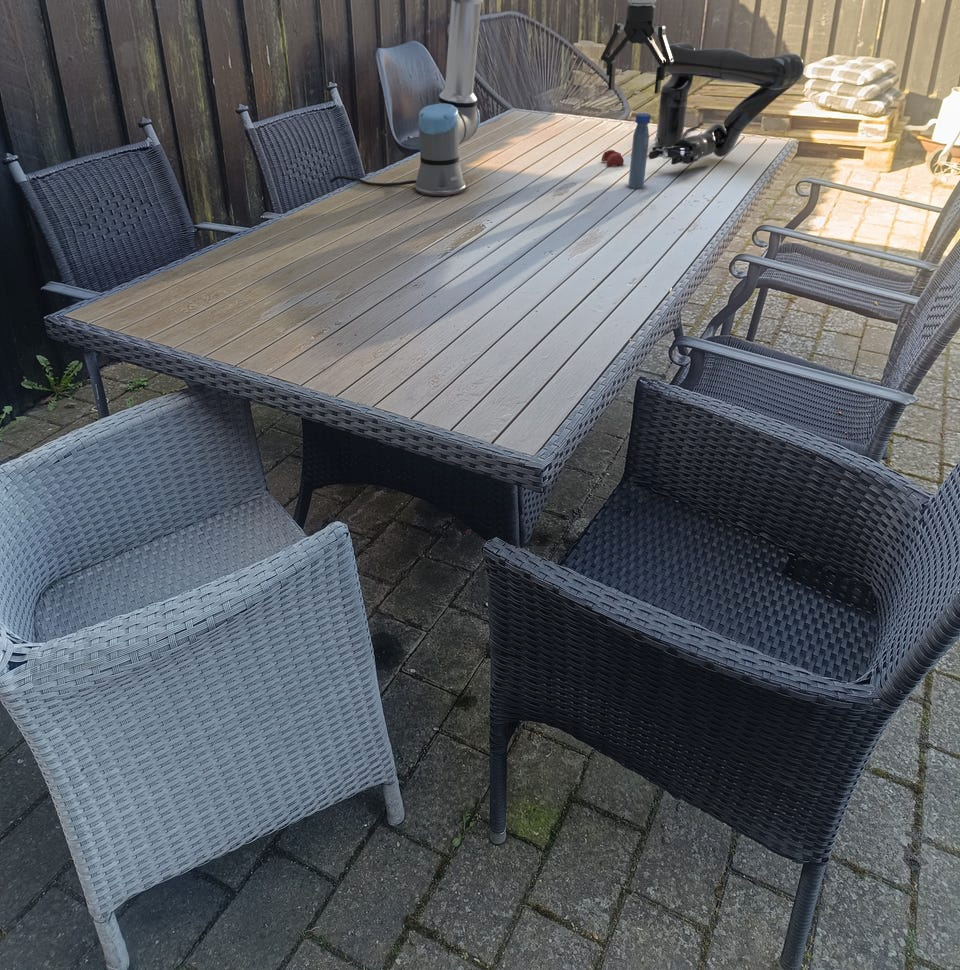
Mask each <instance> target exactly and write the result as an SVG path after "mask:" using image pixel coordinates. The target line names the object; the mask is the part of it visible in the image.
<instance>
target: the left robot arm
mask: <svg viewBox="0 0 960 970" xmlns="http://www.w3.org/2000/svg"><path fill="white" fill-rule="evenodd" d="M483 1H485V0H450V13H449V14H450V15H449V29H448V42H447V54H446V68H445V69H446V70H445V79H444V80H445V81H444V82H445V83H444V89H443V90H442V91H441V92H440V93H439V96H438V103H433V104H429V105H426V106H424V107H422V109H420V111H419V113H418V122H417V124H418V136H419V138H418V139H419V157H420V158H419V159H420V161H419V162H420V164H419V168H418V172H417V176H416V179H412V180H405V181H399V182H372V181H367V180H364V179H362V178H358V177H352V176H348V175H347V176H346V175H336V176H334V177H332V178H331V179H330V181H329V183H335V181H337V180H346V181H353V182H359V183H361V184H363V185H367V186H372V187H397V186H398V187H399V186H405V185H412V184H415V185H414V186H415V192H417V193H418V194H420V195H424V196H430V197H450V196H455V195H459V194H461V193H463V192H464V191H466V181H465V179H464V176H463V172H462V169H461V165H460V145H462V144H463V143H465V142H467V141H469V140H470V139H471V138H473V137H474V135H475V134H476V133H477V131H478V129H479V128H480V122H481V115H480V110H479V109H478V98H477V96H476V95H475V93H474V85H475V75H476V66H477V65H476V64H477V53H478V42H479V33H480V32H479V31H480V19H481V12H482V11H481V10H482V3H483ZM627 2H628V4H627V6H626V15H625V16H626V17H625V18H626V19H625V24H622V23H621V22H618V23H615V24H614V25H613V32H612V34H611V35H610V38H609V40H608V42H607V44H606V46H605V48H604V50H603V52H602V54H601V56H600V60H601V61H604V62H605V63H606V73H605V74H606V77H608V85H607V87H608V88H607V89H608V90H610V91H611V90H613V89H614V88H615V82H616V71H617V70H616V69H617V62H615V60H616V59H617V57H618V56H619V55H620V54H621V53H622V52H623V51H624V49H626V47H627V46H628V44H630V43H631V44H639V45H644V44H645V45H646V46H647V47H648V49H649V51H650V52H651V54H652V55H653V57H654V59H655V61H656V62H657V64H658V66H657V68H656V71H655V72H656V73H655V84H654V94H655V95H656V94H659V93H661V89H662V81H664V80H665V79H666V74H667V73H666V67H667V66H668V65H671V64H673V62H674V61H673V57H672V54H671V51H670V48H669V45H670V44H669V42H668V38H667V35H666V26H665V25H664V24H663V25H660V26H655V16H656V5H655V4H656V3H657V0H627ZM623 32H624V33H625V37H624V38H623V39H622V41H621V42H620V43H619V44H618V46H616V48H615V49H614V51H612V50H613V48H614V47H615V45H616V42H617V41H618V38H619V36H620V34H621V33H623ZM654 33H655V35H656V36H657V38H658V42H659V45H660V48H661V50H660V48H659V47H658V46H657V44H656V42H655V41H656V40H655V39H654V38H653V34H654ZM662 51H663V54H664V57H665V59H664V57H663V55H662V54H661V52H662ZM611 52H612V53H611Z"/></svg>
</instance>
